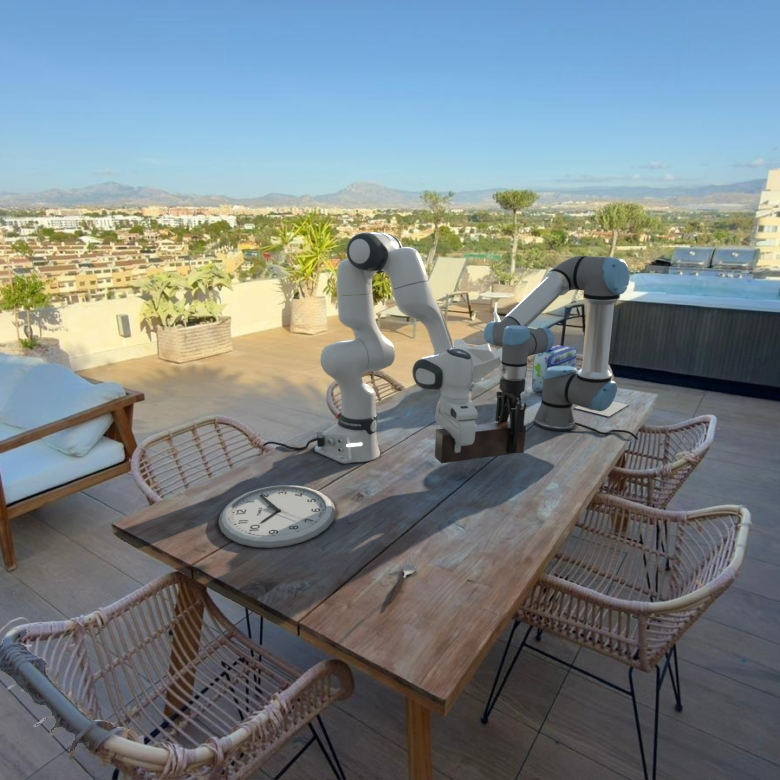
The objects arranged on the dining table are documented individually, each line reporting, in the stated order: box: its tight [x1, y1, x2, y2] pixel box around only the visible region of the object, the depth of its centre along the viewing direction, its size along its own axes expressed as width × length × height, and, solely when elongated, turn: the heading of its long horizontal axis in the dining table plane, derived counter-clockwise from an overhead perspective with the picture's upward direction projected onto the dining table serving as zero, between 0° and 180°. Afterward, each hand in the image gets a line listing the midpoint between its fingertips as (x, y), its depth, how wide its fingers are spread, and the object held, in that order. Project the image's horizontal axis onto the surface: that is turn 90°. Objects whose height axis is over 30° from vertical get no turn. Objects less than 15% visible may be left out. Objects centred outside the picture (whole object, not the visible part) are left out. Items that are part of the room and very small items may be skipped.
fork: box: [388, 554, 419, 606], centre depth 112 cm, size 3×16×2 cm, turn 160°
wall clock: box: [218, 484, 336, 549], centre depth 137 cm, size 30×2×30 cm
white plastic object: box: [453, 310, 531, 397], centre depth 245 cm, size 37×45×31 cm
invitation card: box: [573, 400, 629, 418], centre depth 226 cm, size 21×1×15 cm
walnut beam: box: [434, 420, 527, 464], centre depth 160 cm, size 28×5×9 cm, turn 108°
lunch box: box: [531, 345, 577, 393], centre depth 245 cm, size 26×11×21 cm, turn 134°
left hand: (452, 447), depth 157 cm, fingers closed on walnut beam, 5 cm apart
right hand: (506, 448), depth 164 cm, fingers closed on walnut beam, 5 cm apart
